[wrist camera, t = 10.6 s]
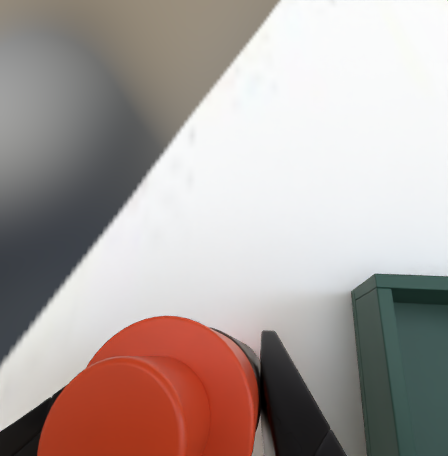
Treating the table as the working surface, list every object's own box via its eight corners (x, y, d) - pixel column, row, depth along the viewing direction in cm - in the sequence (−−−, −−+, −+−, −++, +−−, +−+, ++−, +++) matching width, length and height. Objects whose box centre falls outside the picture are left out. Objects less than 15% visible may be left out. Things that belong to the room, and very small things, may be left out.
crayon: (261, 413, 14) (237, 731, 2) (199, 403, 14) (-89, 609, 3) (266, 345, 15) (265, 311, 3) (209, 338, 16) (36, 284, 4)
